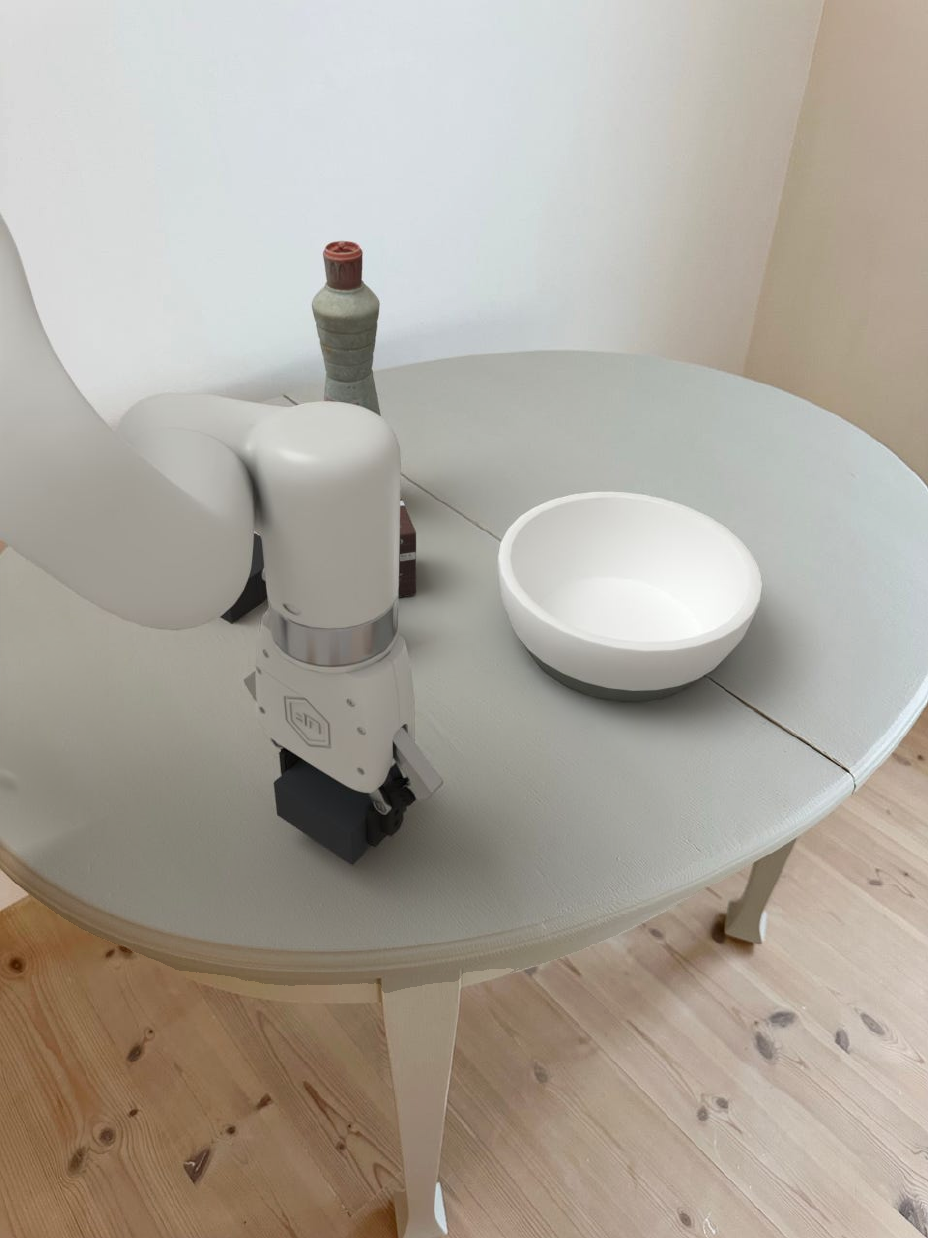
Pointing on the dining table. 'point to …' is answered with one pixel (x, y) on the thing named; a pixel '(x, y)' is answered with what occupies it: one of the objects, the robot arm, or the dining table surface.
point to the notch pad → (250, 586)
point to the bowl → (626, 592)
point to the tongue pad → (324, 809)
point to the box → (407, 554)
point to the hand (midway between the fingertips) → (341, 803)
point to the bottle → (347, 327)
